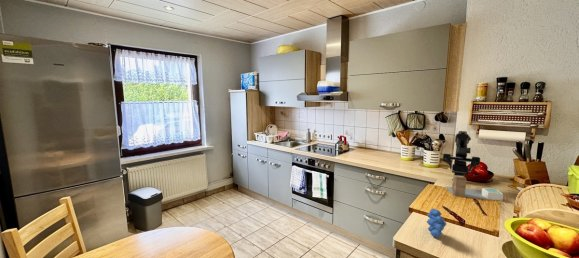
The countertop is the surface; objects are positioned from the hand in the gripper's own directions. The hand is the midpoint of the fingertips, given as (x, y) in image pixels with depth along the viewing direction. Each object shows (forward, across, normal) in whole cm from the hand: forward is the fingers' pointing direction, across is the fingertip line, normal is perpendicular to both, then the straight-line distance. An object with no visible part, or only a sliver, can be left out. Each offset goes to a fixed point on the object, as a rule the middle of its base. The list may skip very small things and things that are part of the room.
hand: (459, 170), depth 147 cm
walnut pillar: (+14, 0, +4) cm, 15 cm away
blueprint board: (+9, +7, +10) cm, 15 cm away
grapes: (+55, -7, -36) cm, 66 cm away
